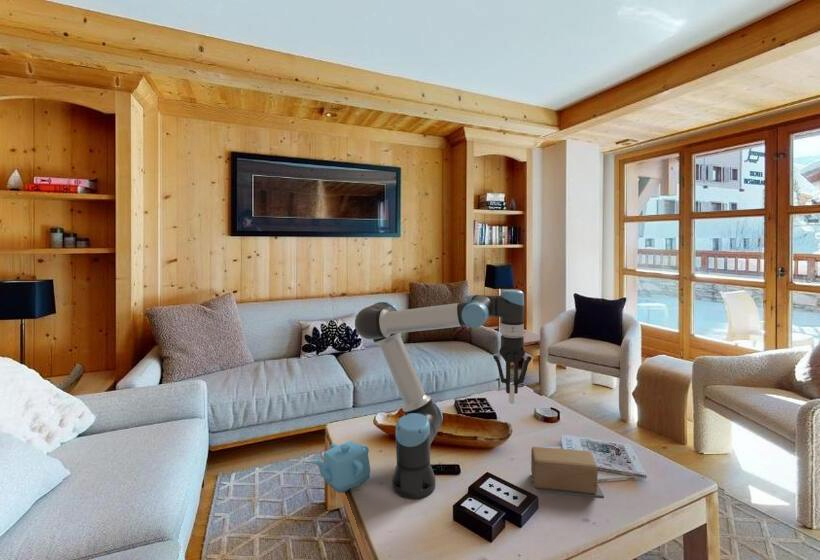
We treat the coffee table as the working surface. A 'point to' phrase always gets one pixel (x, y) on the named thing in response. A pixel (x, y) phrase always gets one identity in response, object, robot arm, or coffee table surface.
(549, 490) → the mat
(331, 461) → the teapot
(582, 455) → the wooden block
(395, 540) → the coffee table surface
